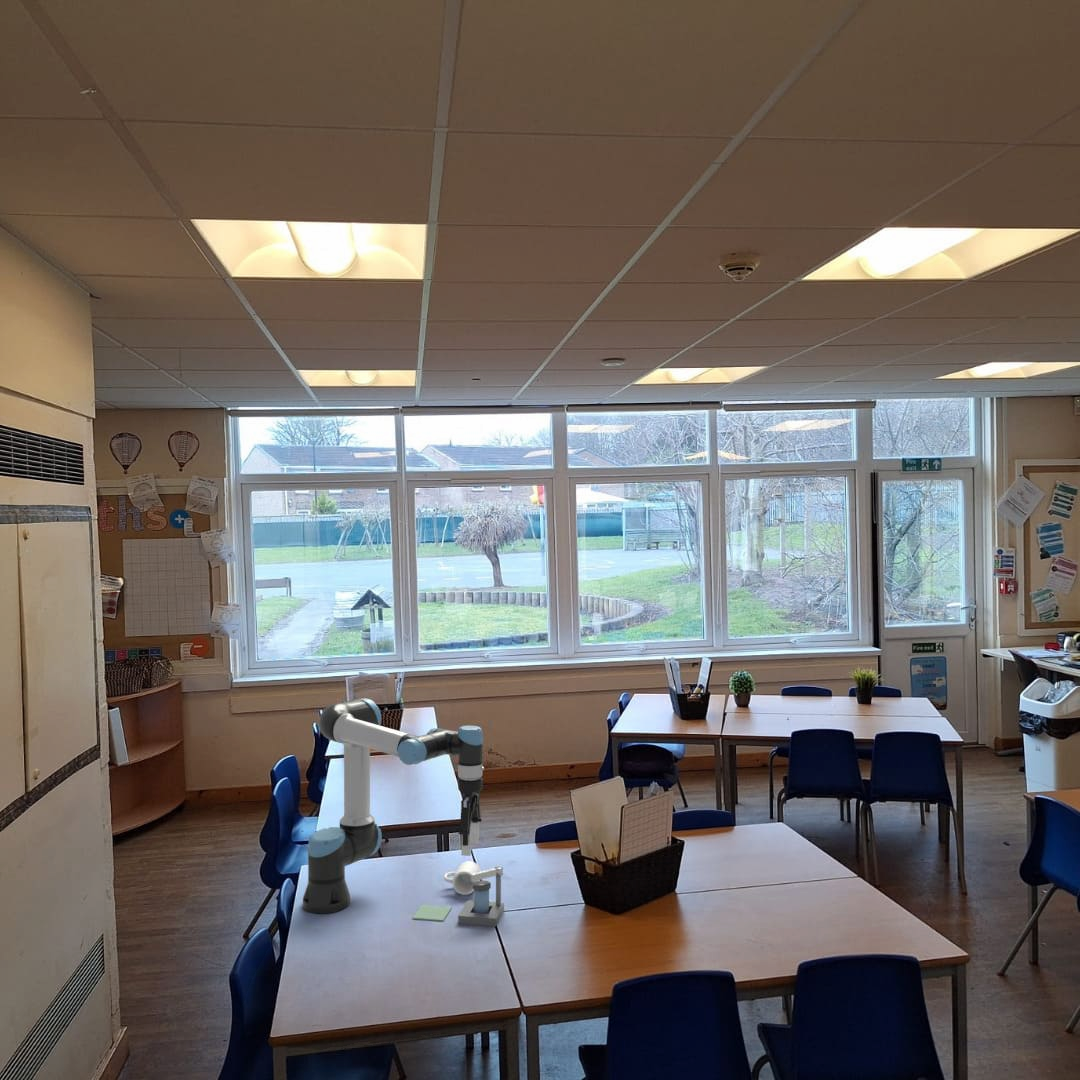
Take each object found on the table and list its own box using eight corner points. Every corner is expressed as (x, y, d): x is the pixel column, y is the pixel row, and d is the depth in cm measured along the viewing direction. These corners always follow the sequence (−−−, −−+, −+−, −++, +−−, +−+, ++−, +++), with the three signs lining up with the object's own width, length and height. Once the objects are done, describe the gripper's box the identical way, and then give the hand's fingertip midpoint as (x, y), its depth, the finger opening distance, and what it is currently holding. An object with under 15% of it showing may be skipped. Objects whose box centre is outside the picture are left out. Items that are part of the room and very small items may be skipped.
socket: (458, 923, 282) (458, 885, 282) (467, 908, 294) (467, 871, 294) (496, 926, 280) (496, 887, 280) (503, 910, 292) (504, 873, 292)
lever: (499, 871, 293) (499, 865, 293) (504, 874, 290) (504, 868, 290) (469, 879, 286) (469, 873, 286) (474, 882, 284) (474, 876, 284)
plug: (470, 920, 285) (470, 886, 285) (474, 912, 290) (474, 880, 290) (488, 921, 284) (488, 888, 284) (492, 914, 289) (492, 881, 289)
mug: (480, 884, 314) (480, 861, 314) (476, 895, 304) (476, 872, 304) (446, 883, 315) (446, 860, 315) (440, 894, 305) (440, 870, 305)
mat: (412, 918, 286) (412, 917, 286) (421, 906, 295) (421, 904, 295) (443, 921, 284) (443, 919, 284) (451, 908, 294) (451, 907, 294)
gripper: (473, 787, 269) (473, 863, 269) (490, 768, 291) (490, 837, 291) (449, 786, 270) (448, 861, 270) (467, 767, 292) (467, 836, 292)
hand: (470, 849), depth 280 cm, fingers open, 10 cm apart
